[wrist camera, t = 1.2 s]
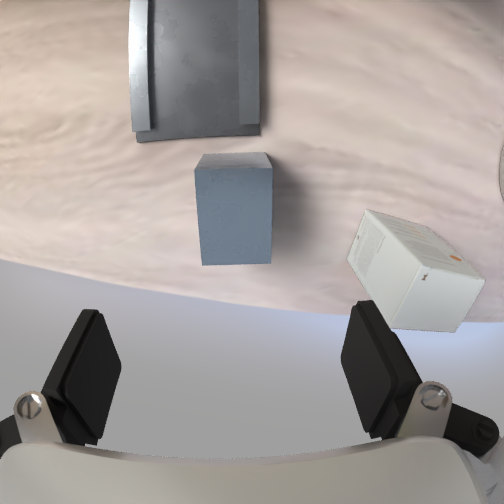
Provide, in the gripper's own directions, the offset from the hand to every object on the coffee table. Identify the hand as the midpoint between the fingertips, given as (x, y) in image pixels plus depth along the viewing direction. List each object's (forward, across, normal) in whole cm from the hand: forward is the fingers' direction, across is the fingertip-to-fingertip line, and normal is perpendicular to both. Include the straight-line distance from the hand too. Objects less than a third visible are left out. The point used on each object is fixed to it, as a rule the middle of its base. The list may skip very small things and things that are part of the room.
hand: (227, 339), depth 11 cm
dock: (+17, +2, -14) cm, 22 cm away
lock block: (+17, 0, 0) cm, 17 cm away
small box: (+17, -16, +5) cm, 24 cm away
